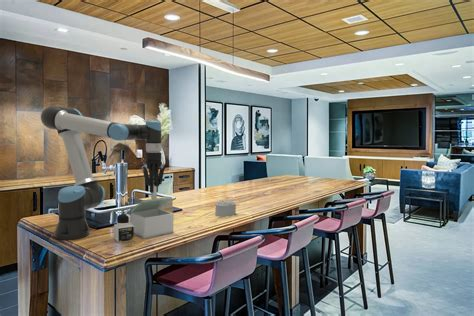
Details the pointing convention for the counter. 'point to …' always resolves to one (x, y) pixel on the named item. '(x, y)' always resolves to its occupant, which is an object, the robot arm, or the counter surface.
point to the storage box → (152, 223)
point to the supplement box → (168, 206)
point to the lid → (150, 204)
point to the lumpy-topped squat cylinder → (225, 208)
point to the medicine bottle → (123, 229)
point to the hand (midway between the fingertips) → (153, 198)
